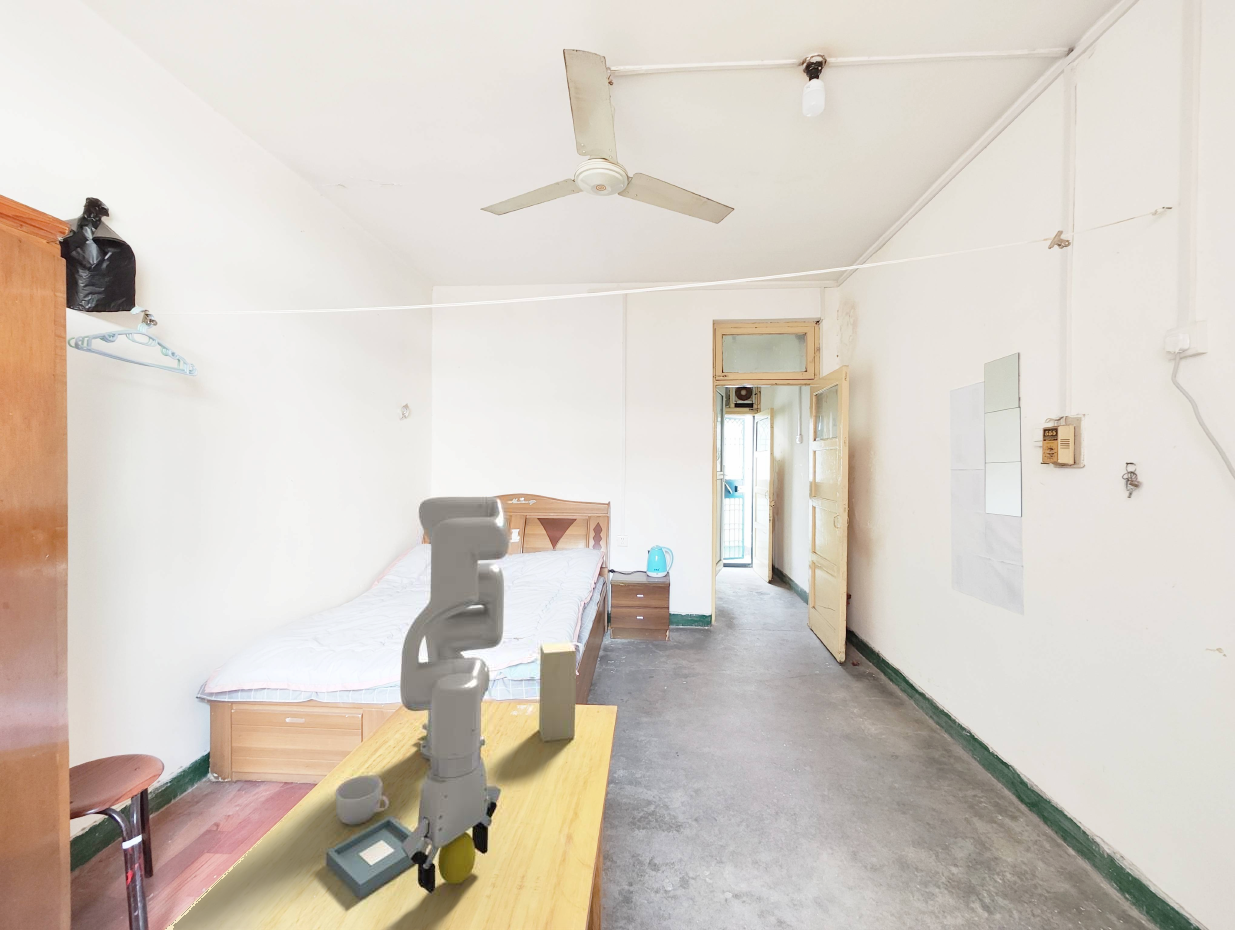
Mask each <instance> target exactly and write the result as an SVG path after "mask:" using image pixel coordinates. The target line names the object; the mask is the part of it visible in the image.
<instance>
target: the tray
mask: <svg viewBox="0 0 1235 930" xmlns="http://www.w3.org/2000/svg"><path fill="white" fill-rule="evenodd" d="M412 832H413V831H412V830H411V829H410V828H408V827H406V826H405V825H404V824H403V823H401V822H400V821H399V820H398V819H396V818H395V817H393V816H392V815H388V816H387V817H385V818H383V819H382V820H380V821H378V822H376V823H375V824H373V825H371V826H369V827H367V828H366V829H364V830H362V831H360V832H358V833H356V834H355V835H353V836H352V837H349V838H347V839H346V840H344V841H342V842H341V843H339V844H337V845H334V847H332V848H330V849H328V850H327V851H326V853H325V854H326V856H325V858H326V859H325V861H326V862H325V865H326V866H327V867H328V869H329V870H330V871H332V872H333V874H334V875H335V876H336V877H337V878H338V879H339V880H340V881H341V882H342V883H343V884H344V885H345V886H346V887H347V888H348V889H349V890H350V892H351V891H352V893H353V894H354V895H355V896H356V897H357V898H358V899H359V900H362V899H363V898H365V897H366V896H367V895H370V894H371V893H372V892H374V891H375V890H377V889H378V888H380V887H381V886H383V885H384V884H385V883H387V882H389V881H390V880H392V879H393V878H394V877H396V876H397V875H400V873H402V872H404V871H405V870H407V869H408V868H410V867H411V866H413V865H414V864H415V863H414V862H413V861H411V860H410V859H409V858H408V857H407V855H406V854H405V852H404V851H403V849H402V844H403V843H404V841H405V840H406V839H407V838H408V837H409V836H410V834H411V833H412ZM422 840H423V838H422V839H421V841H420V842H419V843H418V844H417V847H416V849H417V850H418V848H419V846H420V844H421V842H422ZM425 854H426V855H427V851H426V852H425Z"/></svg>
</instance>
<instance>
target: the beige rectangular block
mask: <svg viewBox="0 0 1235 930" xmlns="http://www.w3.org/2000/svg"><path fill="white" fill-rule="evenodd" d="M539 654H540V655H539V656H540V658H539V659H540V664H539V707H538V708H539V711H538V715H539V716H538V729H539V734H540V737H541V741H542V742H552V741H559V740H562V741H563V740H568V739H573V738H575V732H576V730H575V729H576V728H575V727H576V726H575V724H576V682H577V681H576V679H577V677H576V675H577V674H576V673H577V651H576V649H575V646H574V645H573V643H572V642H571V641H570V642H567V641H566V642H555V643H554V642H553V643H542V644H540V653H539Z"/></svg>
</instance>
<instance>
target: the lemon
mask: <svg viewBox="0 0 1235 930" xmlns="http://www.w3.org/2000/svg"><path fill="white" fill-rule="evenodd" d="M438 853H439V854H438V861H437V862H438V863H437V864H438V870H439V874H440V877H441V878H442V879H443V881H444V882H446V883H448V884H449V885H450V884H451V885H458V884H460V883H462V882H464V881H465V880H466V879H467V878H468V877H469V876H470V875H471V873H472V871H473V869H474V867H475V863H476V862H475V861H476V849H475V846H474V842H473V839H472V836H471V835H470V834H469V833H468V832H467V831H466V832H464V833H463V834H461V835H460V836H458V837H457V838H455V839H454V840H452V841H451V842H449V843H448V844H446V845H444V846H443V847H440V848H439V851H438Z"/></svg>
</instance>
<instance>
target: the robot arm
mask: <svg viewBox="0 0 1235 930" xmlns="http://www.w3.org/2000/svg"><path fill="white" fill-rule="evenodd" d="M418 517H419V518H418V519H419V522H420V525H421V527H422V530H423V531H424V533H425V535H426V537H427V539H428V541H429V544H430V546H431V547H430V598H429V602H428V603H427V605H426V606H425V607H424V609H422V611H421V612H420V613H419V614H417V617H415V619H414V621H413V622H412V623H411V625H410V627H409V629H408V631H407V633H406V635H405V637H404V638H405V639H404V641H403V646H402V649H401V650H402V651H401V663H400V664H401V665H400V666H401V668H400V684H399V686H400V687H399V691H400V692H399V693H400V700H401V703H402V705H403V707H404V708H405V709H407V710H408V711H410V712H422V711H423V712H424V711H427V722H424V723H423V724H422V727H421V728H422V729H423V730H425V731H426V738H424V740H422V742H421V743H420V747H419V748H420V755H421V756H422V757H423V758H424V759H427V760H429V764H430V765H429V766H430V768H429V769H430V770H428V771H426V772H425V774H424V777H423V782H422V787H421V792H420V798H419V799H420V800H419V807H418V817H417V819H418V820H417V826H416V827H415V828H414V830H413V831H412V833H411V834H410V836H409V837H408V838H407V839H406V840H405V841H404V843H403V844H402V849H403V851H404V852H405V854H406V855H407V857H408V858H409V859H410V860H411V861H413V862H414V864H416V865H417V883H418V885H419V887H420V888H421V889H424V890H425V891H426V892H427V893H428V894H432V893H434V892H435V890H436V864H435V863H434V860H435V858H436V856H437V854H438V853H439V851H440V848H441V847H443V846H444V845H446V844H448V843H449V842H451V841H452V840H454V839H455V838H457V837H458V836H460V835H461V834H463V833H464V832H467V831H469V830H470V829H472V830H471V835H472V836H471V837H472V839H473V842H474V846H475V850H477V851H478V852H479V853H481V854H483V855H485V854H487V853H488V849H489V846H488V845H489V827H490V826H491V824H492V821H493V820H492V817H493V816H494V813H495V811H496V810H497V807H498V804H497V802H498V801H499V798H500V796H501V792H502V790H501V788H499V787H498V786H495V785H488V781H487V772H486V767H485V763H484V759H483V757H482V756H481V755H482V754H481V752H482V751H481V750H482V749H481V748H482V747H483V746H485V745H486V740H485V738H484V737H483V736H482V702H483V700H484V698H485V694H486V693H487V692H489V691H488V690H489V686H490V678H491V677H490V669H489V666H488V665H487V663H486V661H485V660H483V659H482V658H480V657H473V656H471V657H465V656H464V655H463V654H462V652H467V651H468V652H469V651H477V650H478V651H479V650H488V649H493V648H495V647H497V646H499V645H500V643H501V641H502V639H503V636H504V635H503V633H504V605H505V603H504V602H505V599H504V597H505V580H504V574H503V570H502V569H501V567H500V566H499V565H498V564H495V563H492V562H482V563H481V562H480V563H479V561H494V560H495V561H496V560H502V559H503V558H505V557H506V555H507V553H508V550H509V543H510V533H509V532H510V531H509V526H508V521H507V517H506V513H505V509H504V506H503V503H502V501H501V500H500V499H499V498H497V497H495V496H494V497H493V496H440V497H431V498H427V499H424V500H423V501H421V503H420V504H419V506H418ZM473 606H480V607H473ZM424 638H425V644H426V645H425V646H426V653H427V661H423V662H422V661H421V662H420V661H419V659H420V658H419V656H420V655H419V654H420V649H421V645H422V643H423V640H424ZM421 839H422V842H421V844H420V846H419V848H418V850H417V849H416V847H417V844H418V843H419V842H420V841H421ZM429 846H430V848H429ZM428 848H429V850H428ZM427 850H428V852H427ZM425 852H426V854H425Z"/></svg>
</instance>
